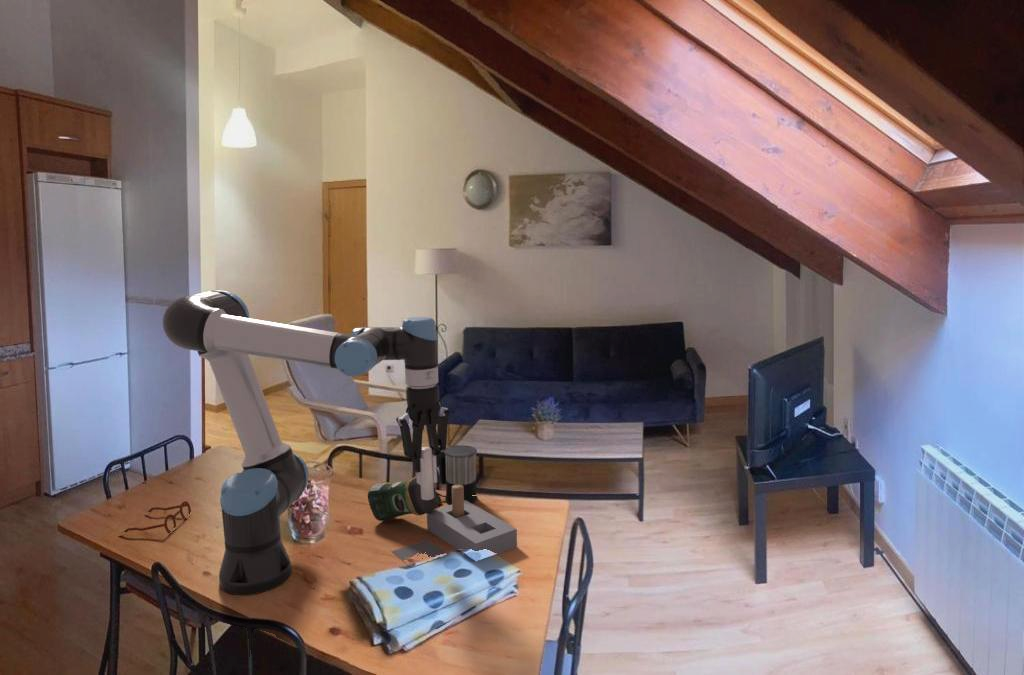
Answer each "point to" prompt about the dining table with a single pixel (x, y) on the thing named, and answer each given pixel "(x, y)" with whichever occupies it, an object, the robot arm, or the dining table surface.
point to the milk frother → (458, 471)
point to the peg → (427, 474)
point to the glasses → (166, 517)
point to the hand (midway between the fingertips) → (427, 482)
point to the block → (470, 526)
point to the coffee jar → (399, 499)
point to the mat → (418, 550)
